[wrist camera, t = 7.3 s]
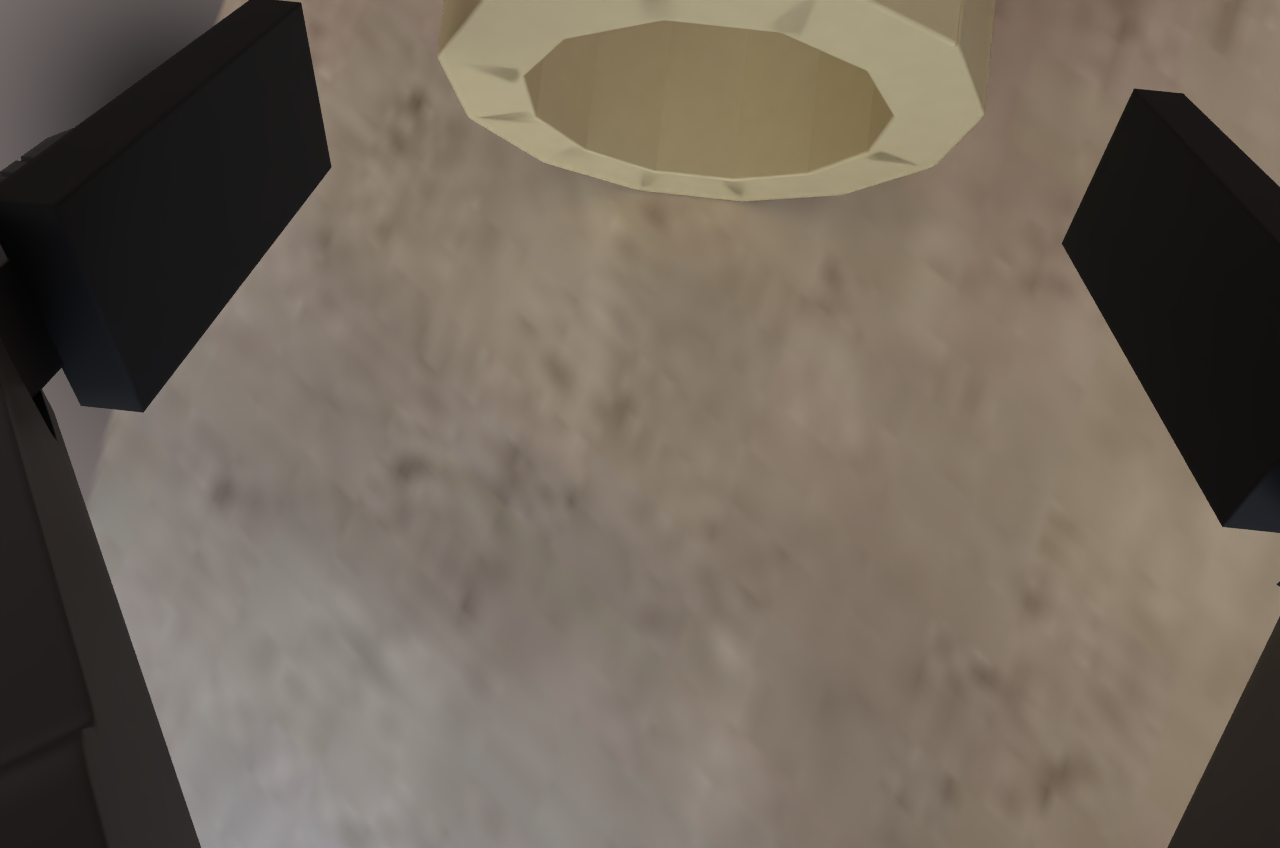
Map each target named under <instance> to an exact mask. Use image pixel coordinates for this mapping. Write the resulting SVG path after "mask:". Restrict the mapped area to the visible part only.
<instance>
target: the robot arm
mask: <svg viewBox="0 0 1280 848" xmlns="http://www.w3.org/2000/svg"><path fill="white" fill-rule="evenodd" d="M330 168H331V162H330V157H329V152H328V146H327V141H326V135H325V130H324V124H323V119H322V114H321V108H320V103H319V97H318V92H317V86H316V81H315V76H314V70H313V65H312V59H311V54H310V48H309V43H308V38H307V32H306V27H305V21H304V16H303V10H302V5H301V3H299V2H289V1H279V0H249V1H248V2H246V3H245V4H244V5H242V6H241V7H239V8H238V9H237V10H235V11H234V12H233V13H231V14H230V15H228V16H227V17H226V18H224V19H223V20H222V21H220V22H219V23H217V24H216V25H215V26H213V27H212V28H211V29H210V30H208V31H207V32H205V33H204V34H202V35H201V36H200V37H198V38H197V39H196V40H194V41H193V42H192V43H190V44H189V45H187V46H186V47H185V48H183V49H182V50H180V51H179V52H178V53H176V54H175V55H174V56H172V57H171V58H169V60H167V61H165V62H164V63H163V64H161V65H160V66H159V67H157V68H156V69H155V70H153V71H152V72H150V73H149V74H148V75H146V76H145V77H143V78H142V79H141V80H139V81H138V82H137V83H135V84H134V85H132V86H131V87H130V88H128V89H127V90H126V91H124V92H123V93H122V94H120V95H119V96H117V97H116V98H115V99H113V100H112V101H111V102H109V103H108V104H106V105H105V106H104V107H102V108H101V109H100V110H98V111H97V112H96V113H94V114H93V115H91V116H90V117H89V118H87V119H86V120H85V121H83V122H82V123H80V124H79V125H78V126H76V127H75V128H72V129H70V130H67V131H64V132H62V133H59V134H57V135H54V136H52V137H49V138H47V139H45V140H44V141H43V142H41V143H40V144H38V145H37V146H35V147H34V148H33V149H31V150H30V151H28V152H27V153H26V154H24V155H23V156H21V161H15V162H13V163H12V164H10V165H9V166H8V167H6V168H5V169H3V170H2V171H1V172H0V848H201V846H200V843H199V840H198V837H197V834H196V831H195V828H194V825H193V822H192V819H191V816H190V813H189V811H188V808H187V805H186V802H185V799H184V796H183V793H182V790H181V787H180V784H179V781H178V778H177V775H176V772H175V769H174V766H173V763H172V760H171V757H170V754H169V751H168V748H167V745H166V742H165V739H164V736H163V734H162V731H161V728H160V725H159V722H158V719H157V716H156V713H155V710H154V707H153V704H152V701H151V698H150V695H149V692H148V689H147V686H146V683H145V680H144V677H143V674H142V671H141V668H140V665H139V662H138V660H137V657H136V654H135V651H134V648H133V645H132V642H131V639H130V636H129V633H128V630H127V627H126V624H125V621H124V618H123V615H122V612H121V609H120V606H119V603H118V600H117V597H116V594H115V591H114V588H113V585H112V583H111V580H110V577H109V574H108V571H107V568H106V565H105V562H104V559H103V556H102V553H101V550H100V547H99V544H98V541H97V538H96V535H95V532H94V529H93V526H92V523H91V520H90V517H89V514H88V511H87V509H86V506H85V503H84V500H83V497H82V494H81V491H80V488H79V485H78V482H77V479H76V476H75V473H74V470H73V467H72V464H71V461H70V458H69V456H68V452H67V449H66V446H65V443H64V441H63V438H62V435H61V432H60V429H59V426H58V423H57V420H56V417H55V414H54V411H53V409H52V408H51V405H50V404H49V402H48V400H47V398H46V396H45V394H44V392H43V390H42V388H43V387H44V386H45V385H46V384H47V382H49V380H50V379H51V378H52V377H53V376H54V375H55V374H56V373H57V372H58V371H59V370H60V369H61V368H62V369H63V371H64V373H65V375H66V377H67V379H68V381H69V383H70V385H71V387H72V388H73V391H74V393H75V395H76V397H77V399H78V401H79V403H80V404H81V406H88V407H98V408H107V409H117V410H126V411H135V412H144V411H145V410H146V408H147V407H148V406H149V404H150V403H151V402H152V401H153V399H154V398H155V397H156V395H157V394H158V393H159V391H160V390H161V389H162V387H163V386H164V385H165V384H166V382H167V381H168V380H169V378H170V377H171V376H172V374H173V373H174V372H175V371H176V369H177V368H178V367H179V365H180V364H181V363H182V361H183V360H184V359H185V357H186V356H187V355H188V354H189V352H190V351H191V350H192V348H193V347H194V346H195V344H196V343H197V342H198V341H199V339H200V338H201V337H202V335H203V334H204V333H205V331H206V330H207V329H208V327H209V326H210V325H211V324H212V322H213V321H214V320H215V318H216V317H217V316H218V314H219V313H220V312H221V311H222V309H223V308H224V307H225V305H226V304H227V303H228V301H229V300H230V299H231V298H232V296H233V295H234V294H235V292H236V291H237V290H238V288H239V287H240V286H241V284H242V283H243V282H244V281H245V279H246V278H247V277H248V275H249V274H250V273H251V271H252V270H253V269H254V268H255V266H256V265H257V264H258V262H259V261H260V260H261V258H262V257H263V256H264V254H265V253H266V252H267V251H268V249H269V248H270V247H271V245H272V244H273V243H274V241H275V240H276V239H277V238H278V236H279V235H280V234H281V232H282V231H283V230H284V228H285V227H286V226H287V225H288V223H289V222H290V221H291V219H292V218H293V217H294V215H295V214H296V213H297V211H298V210H299V209H300V208H301V206H302V205H303V204H304V202H305V201H306V200H307V198H308V197H309V196H310V195H311V193H312V192H313V191H314V189H315V188H316V187H317V185H318V184H319V183H320V181H321V180H322V179H323V178H324V176H325V175H326V174H327V172H328V171H329V170H330ZM1062 245H1063V246H1064V248H1065V250H1066V252H1067V253H1068V255H1069V257H1070V259H1071V260H1072V262H1073V264H1074V266H1075V268H1076V269H1077V271H1078V273H1079V275H1080V276H1081V278H1082V280H1083V282H1084V283H1085V285H1086V287H1087V289H1088V290H1089V292H1090V294H1091V296H1092V298H1093V299H1094V301H1095V303H1096V305H1097V306H1098V308H1099V310H1100V312H1101V313H1102V315H1103V317H1104V319H1105V320H1106V322H1107V324H1108V326H1109V328H1110V329H1111V331H1112V333H1113V335H1114V336H1115V338H1116V340H1117V342H1118V343H1119V345H1120V347H1121V349H1122V350H1123V352H1124V354H1125V356H1126V358H1127V359H1128V361H1129V363H1130V365H1131V366H1132V368H1133V370H1134V372H1135V373H1136V375H1137V377H1138V379H1139V380H1140V382H1141V384H1142V386H1143V388H1144V389H1145V391H1146V393H1147V395H1148V396H1149V398H1150V400H1151V402H1152V403H1153V405H1154V407H1155V409H1156V410H1157V412H1158V414H1159V416H1160V417H1161V419H1162V421H1163V423H1164V425H1165V426H1166V428H1167V430H1168V432H1169V433H1170V435H1171V437H1172V439H1173V440H1174V442H1175V444H1176V446H1177V447H1178V449H1179V451H1180V453H1181V455H1182V456H1183V458H1184V460H1185V462H1186V463H1187V465H1188V467H1189V469H1190V470H1191V472H1192V474H1193V476H1194V477H1195V479H1196V481H1197V483H1198V485H1199V486H1200V488H1201V490H1202V492H1203V493H1204V495H1205V497H1206V499H1207V500H1208V502H1209V504H1210V506H1211V507H1212V509H1213V511H1214V513H1215V515H1216V516H1217V518H1218V520H1219V522H1220V523H1221V525H1222V527H1229V528H1239V529H1248V530H1258V531H1267V532H1276V533H1280V187H1279V186H1278V185H1277V184H1276V183H1275V182H1274V181H1273V180H1272V179H1271V178H1270V177H1269V176H1268V175H1267V174H1266V173H1265V172H1264V171H1263V170H1262V169H1260V168H1259V167H1258V166H1257V165H1256V164H1255V163H1254V162H1253V161H1252V160H1251V159H1250V158H1249V157H1248V156H1247V155H1246V154H1245V153H1244V152H1243V151H1242V150H1241V149H1240V148H1239V147H1238V146H1237V145H1236V144H1235V143H1234V142H1233V141H1232V140H1231V139H1229V138H1228V137H1227V136H1226V135H1225V134H1224V133H1223V132H1222V131H1221V130H1220V129H1219V128H1218V127H1217V126H1216V125H1215V124H1214V123H1213V122H1212V121H1211V120H1210V119H1209V118H1208V117H1207V116H1206V115H1205V114H1204V113H1203V112H1202V111H1201V110H1200V109H1198V108H1197V107H1196V106H1195V105H1194V104H1193V103H1192V102H1191V101H1190V100H1189V99H1188V98H1187V97H1186V96H1185V95H1184V94H1182V93H1172V92H1162V91H1153V90H1143V89H1134V90H1133V92H1132V94H1131V97H1130V99H1129V101H1128V103H1127V105H1126V107H1125V109H1124V111H1123V114H1122V116H1121V118H1120V120H1119V122H1118V124H1117V126H1116V129H1115V131H1114V133H1113V135H1112V137H1111V139H1110V141H1109V144H1108V146H1107V148H1106V150H1105V152H1104V154H1103V156H1102V159H1101V161H1100V163H1099V165H1098V167H1097V169H1096V171H1095V173H1094V176H1093V178H1092V180H1091V182H1090V184H1089V186H1088V188H1087V191H1086V193H1085V195H1084V197H1083V199H1082V201H1081V203H1080V206H1079V208H1078V210H1077V212H1076V214H1075V216H1074V218H1073V221H1072V223H1071V225H1070V227H1069V229H1068V231H1067V233H1066V235H1065V238H1064V240H1063V242H1062ZM1277 585H1278V586H1280V582H1279V583H1278V584H1277ZM1168 848H1280V617H1279V619H1278V621H1277V624H1276V626H1275V628H1274V630H1273V632H1272V634H1271V636H1270V638H1269V640H1268V642H1267V644H1266V646H1265V648H1264V650H1263V652H1262V654H1261V656H1260V658H1259V660H1258V663H1257V665H1256V667H1255V669H1254V671H1253V673H1252V675H1251V677H1250V679H1249V681H1248V683H1247V685H1246V687H1245V689H1244V691H1243V693H1242V695H1241V697H1240V700H1239V702H1238V704H1237V706H1236V708H1235V710H1234V712H1233V714H1232V716H1231V718H1230V720H1229V722H1228V724H1227V726H1226V728H1225V730H1224V732H1223V734H1222V737H1221V739H1220V741H1219V743H1218V745H1217V747H1216V749H1215V751H1214V753H1213V755H1212V757H1211V759H1210V761H1209V763H1208V765H1207V767H1206V769H1205V771H1204V774H1203V776H1202V778H1201V780H1200V782H1199V784H1198V786H1197V788H1196V790H1195V792H1194V794H1193V796H1192V798H1191V800H1190V802H1189V804H1188V806H1187V808H1186V811H1185V813H1184V815H1183V817H1182V819H1181V821H1180V823H1179V825H1178V827H1177V829H1176V831H1175V833H1174V835H1173V837H1172V839H1171V841H1170V843H1169V845H1168Z"/></svg>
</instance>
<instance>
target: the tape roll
mask: <svg viewBox="0 0 1280 848" xmlns="http://www.w3.org/2000/svg"><path fill="white" fill-rule="evenodd" d="M995 4H996V0H444V7H443V15H442V23H441V31H440V39H439V47H438V60H439V62H440V64H441V66H442V68H443V69H444V71H445V73H446V75H447V77H448V79H449V81H450V83H451V85H452V87H453V89H454V91H455V93H456V95H457V97H458V99H459V101H460V103H461V105H462V107H463V109H464V111H465V113H466V115H467V116H468V117H469V118H470V119H471V120H473V121H475V122H476V123H478V124H480V125H481V126H483V127H485V128H486V129H488V130H490V131H491V132H493V133H495V134H496V135H498V136H500V137H501V138H503V139H505V140H506V141H508V142H510V143H511V144H513V145H515V146H516V147H518V148H520V149H521V150H523V151H525V152H526V153H528V154H530V155H531V156H533V157H535V158H536V159H538V160H540V161H541V162H544V163H547V164H550V165H553V166H557V167H560V168H564V169H567V170H571V171H574V172H577V173H581V174H584V175H588V176H591V177H594V178H598V179H601V180H605V181H608V182H612V183H615V184H618V185H622V186H625V187H629V188H632V189H635V190H641V191H650V192H659V193H669V194H678V195H687V196H696V197H705V198H715V199H724V200H733V201H758V200H773V199H789V198H804V197H820V196H836V195H844V194H848V193H851V192H854V191H858V190H861V189H864V188H867V187H871V186H874V185H877V184H880V183H884V182H887V181H890V180H893V179H897V178H900V177H903V176H906V175H910V174H913V173H916V172H919V171H922V170H926V169H929V168H931V167H933V166H935V165H936V164H937V163H938V162H939V161H940V160H941V159H942V158H943V157H944V156H945V155H946V154H947V153H948V152H949V151H950V150H951V149H952V148H953V147H954V146H955V145H956V144H957V143H958V142H959V141H960V140H961V139H962V138H963V137H964V136H965V135H966V134H967V133H968V132H969V131H970V130H971V129H972V128H973V127H974V126H975V125H976V124H977V123H978V122H979V121H980V120H981V119H982V118H983V116H984V114H985V109H986V98H987V88H988V77H989V67H990V56H991V46H992V35H993V25H994V14H995Z"/></svg>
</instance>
